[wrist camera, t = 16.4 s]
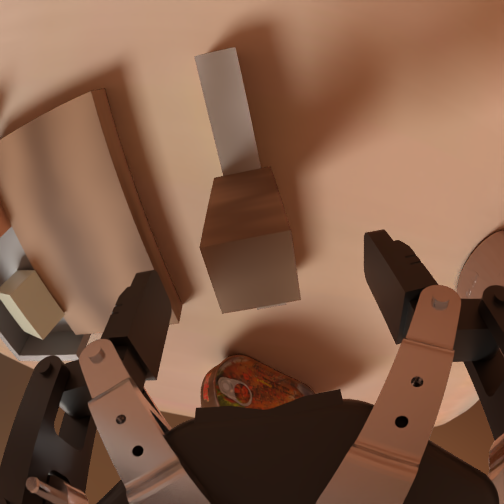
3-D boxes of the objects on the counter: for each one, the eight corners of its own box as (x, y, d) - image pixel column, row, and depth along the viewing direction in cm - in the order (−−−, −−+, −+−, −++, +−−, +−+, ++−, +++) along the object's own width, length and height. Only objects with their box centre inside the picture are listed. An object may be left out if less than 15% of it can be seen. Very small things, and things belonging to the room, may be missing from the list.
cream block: (35, 270, 19) (9, 295, 17) (65, 314, 22) (43, 339, 19) (17, 270, 21) (-5, 291, 19) (43, 309, 24) (23, 331, 21)
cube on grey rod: (244, 50, 15) (251, 20, 7) (288, 276, 23) (311, 389, 15) (192, 61, 15) (142, 48, 7) (248, 283, 24) (254, 398, 15)
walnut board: (104, 88, 15) (90, 90, 14) (182, 305, 24) (179, 323, 23) (-2, 143, 16) (-18, 152, 14) (83, 319, 25) (75, 334, 23)
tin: (324, 392, 32) (337, 457, 25) (303, 404, 34) (313, 466, 27) (219, 338, 27) (216, 423, 20) (198, 355, 28) (191, 435, 21)
